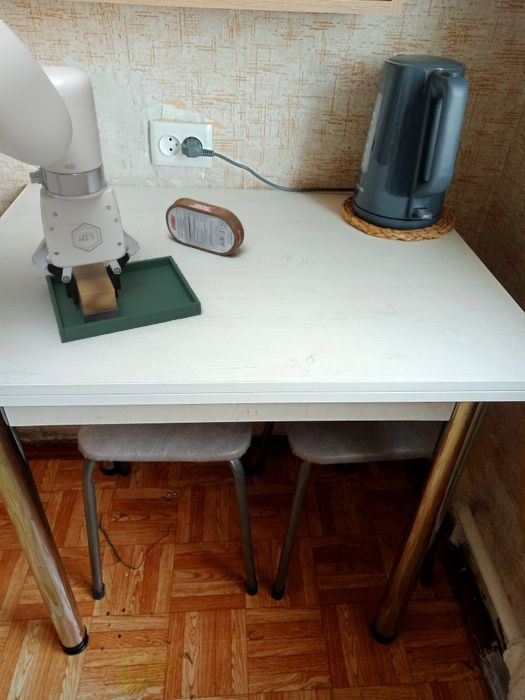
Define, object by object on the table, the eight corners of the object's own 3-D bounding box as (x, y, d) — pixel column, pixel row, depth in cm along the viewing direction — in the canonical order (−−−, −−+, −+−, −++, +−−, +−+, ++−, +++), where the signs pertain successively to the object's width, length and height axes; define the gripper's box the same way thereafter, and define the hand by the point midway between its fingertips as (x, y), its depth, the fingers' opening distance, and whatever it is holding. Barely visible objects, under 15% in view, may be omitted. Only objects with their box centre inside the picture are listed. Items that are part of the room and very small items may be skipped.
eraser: (84, 323, 73) (79, 296, 70) (73, 287, 80) (68, 261, 77) (120, 316, 75) (116, 289, 72) (106, 282, 81) (102, 256, 78)
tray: (61, 343, 70) (59, 331, 69) (48, 286, 80) (45, 275, 79) (201, 314, 77) (200, 303, 76) (171, 266, 88) (171, 255, 86)
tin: (244, 255, 92) (246, 211, 87) (236, 262, 90) (237, 218, 85) (173, 234, 97) (171, 191, 91) (164, 241, 94) (161, 197, 89)
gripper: (3, 196, 59) (37, 322, 71) (147, 181, 65) (157, 299, 77) (-1, 173, 64) (32, 294, 76) (133, 161, 71) (144, 275, 82)
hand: (95, 295), depth 76 cm, fingers closed on eraser, 5 cm apart
